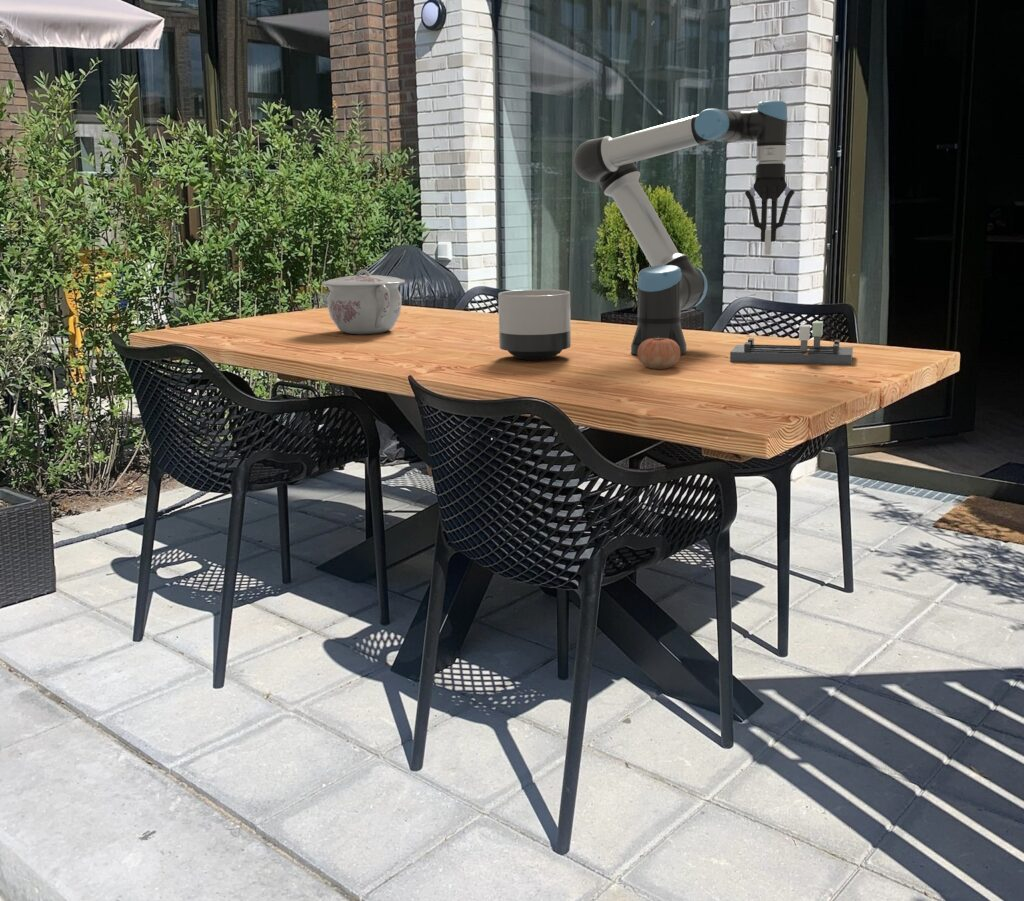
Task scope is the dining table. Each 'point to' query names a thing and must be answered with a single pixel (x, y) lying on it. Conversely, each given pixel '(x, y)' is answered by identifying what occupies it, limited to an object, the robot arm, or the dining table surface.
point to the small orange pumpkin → (658, 353)
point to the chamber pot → (364, 302)
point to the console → (792, 354)
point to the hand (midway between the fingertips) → (767, 254)
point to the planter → (534, 323)
